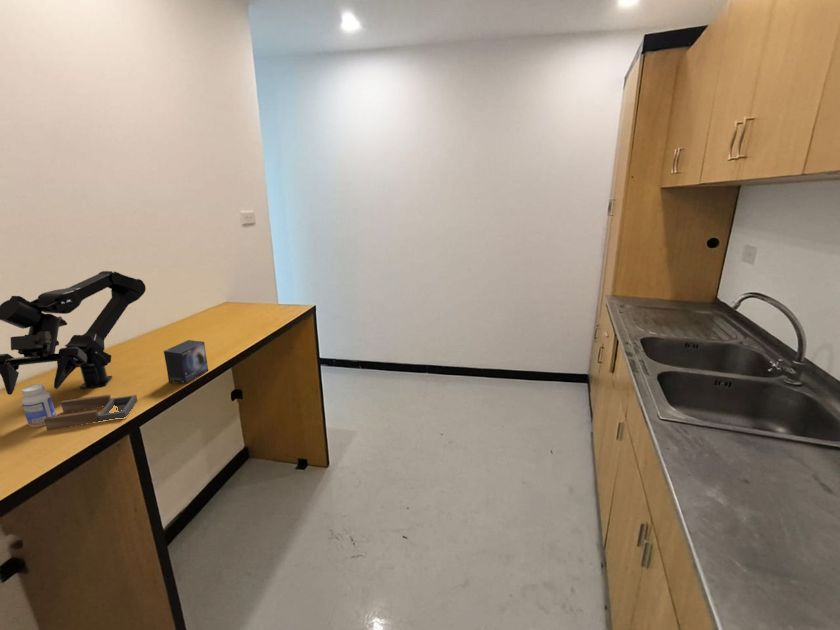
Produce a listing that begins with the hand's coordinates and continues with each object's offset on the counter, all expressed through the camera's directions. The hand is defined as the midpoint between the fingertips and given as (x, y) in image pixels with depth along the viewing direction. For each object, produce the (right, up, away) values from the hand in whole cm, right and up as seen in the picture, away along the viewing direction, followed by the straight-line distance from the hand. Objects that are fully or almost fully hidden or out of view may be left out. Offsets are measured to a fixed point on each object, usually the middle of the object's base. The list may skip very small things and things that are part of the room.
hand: (32, 391), depth 100 cm
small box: (+22, -1, +29) cm, 37 cm away
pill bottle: (0, -9, +3) cm, 9 cm away
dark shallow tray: (+15, -7, +8) cm, 19 cm away
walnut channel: (+8, -8, +5) cm, 12 cm away
